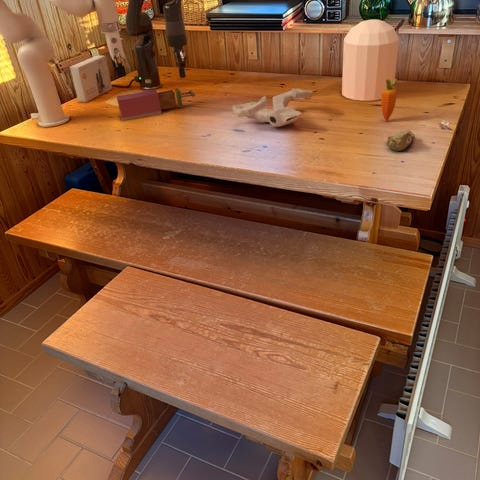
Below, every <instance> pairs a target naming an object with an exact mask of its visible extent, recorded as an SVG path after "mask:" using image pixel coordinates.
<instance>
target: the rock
mask: <svg viewBox="0 0 480 480" xmlns="http://www.w3.org/2000/svg"><path fill="white" fill-rule="evenodd" d="M415 139H416V135H415V134H414V132H412V131H411V130H408V129H407V130H404V131H398V132H396V133H394V134H393V135H392V134H391V135H389V136H388V137H387V143H388V145H387V146H388V147H389V149H391V150H392V151H395V152H404V151H406V150H407V148H409V145H410V144H411V143H412V142H413V141H414V140H415Z"/></svg>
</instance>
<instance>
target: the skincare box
mask: <svg viewBox="0 0 480 480" xmlns="http://www.w3.org/2000/svg"><path fill="white" fill-rule="evenodd" d="M69 70H70V74H71V78H72V82H73V86H74V90H75V94H76V98H77V102H81V103H82V102H84V103H87V102H89V101H91V100H93V99H95V98H97V97H100V96H101V95H103V94H105V93H107V92H108V91H110V90H112V89H113V86H112V85H113V84H112V81H111V76H110V72H109V71H110V70H109V66H108V62H107V57H106V55H100V54H99V55H95V56H92V57H90V58H87V59H85V60H83V61H80V62H78V63H75V64H73V65H71V66H69Z"/></svg>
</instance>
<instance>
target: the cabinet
mask: <svg viewBox="0 0 480 480" xmlns="http://www.w3.org/2000/svg"><path fill="white" fill-rule="evenodd" d="M115 97H116V101H117V104H118V109H119V113H120V118H121V120H122V121H129V120H134V119H139V118H144V117H150V116H153V115H160V114H162V109H161V107H160V102H159V96H158V91H157V89H152V90H143V91H138V92H133V93H127V94H122V95H117V96H115Z"/></svg>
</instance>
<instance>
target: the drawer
mask: <svg viewBox="0 0 480 480" xmlns="http://www.w3.org/2000/svg"><path fill="white" fill-rule="evenodd" d="M157 93H158V96H159V102H160V107H161V110H166V109H171V108H176V107H177V105H178V106H179V108H182V107H184V106H183V99H182V98H187V97H192V98H194V97H195V96H196V93H194V91H193V90H189V91H186V92H181V90H180V89H179V88H178V87H176V88H174V91H173V89H171V90H170V89H169V90H165V91H159V92H158V91H157Z"/></svg>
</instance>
